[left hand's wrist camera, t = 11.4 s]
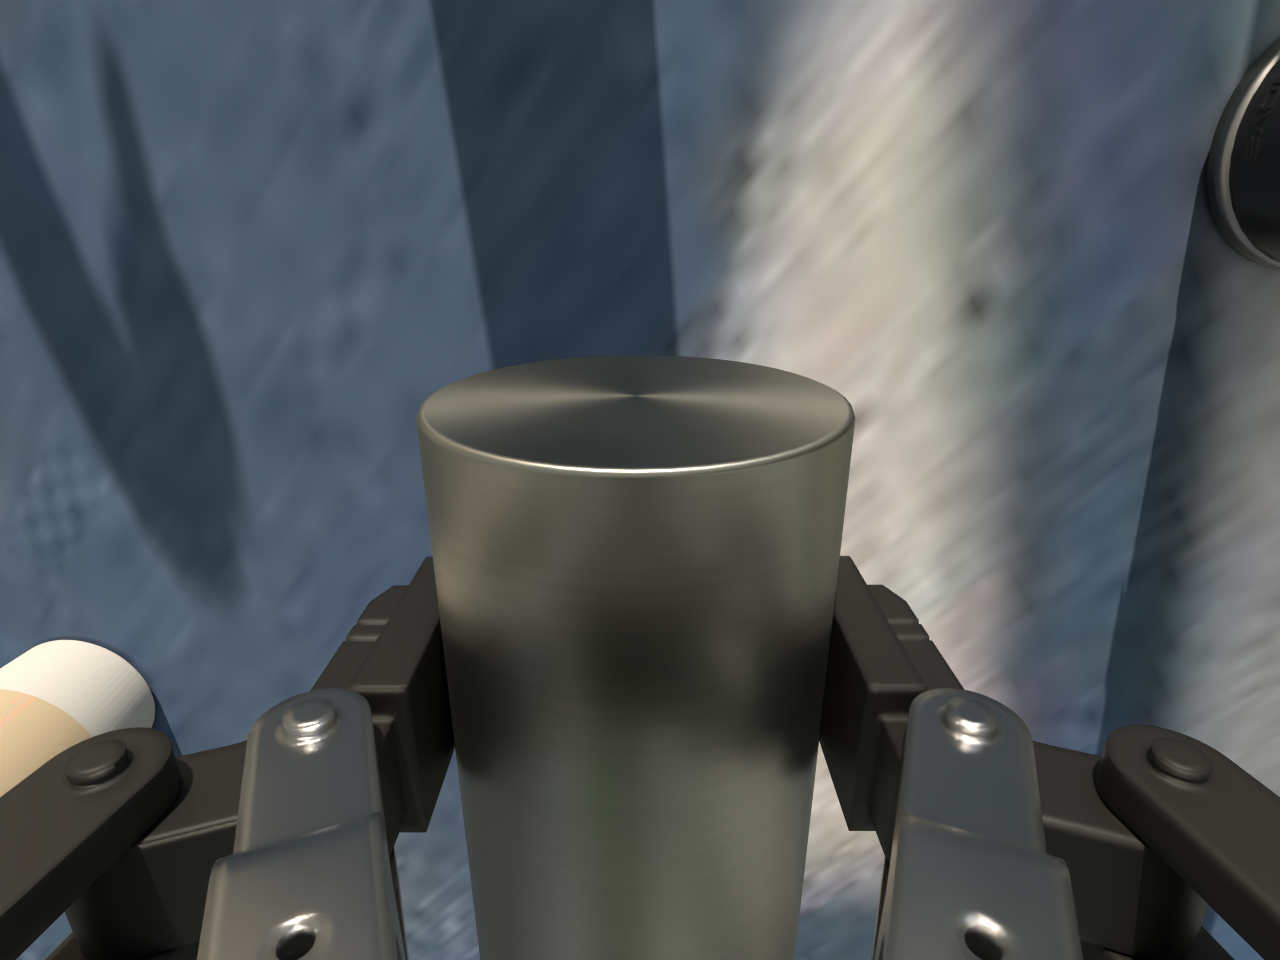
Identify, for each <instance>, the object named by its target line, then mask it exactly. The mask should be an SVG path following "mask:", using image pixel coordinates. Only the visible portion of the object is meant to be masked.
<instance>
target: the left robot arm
mask: <svg viewBox="0 0 1280 960" xmlns="http://www.w3.org/2000/svg"><path fill="white" fill-rule="evenodd" d="M1207 191H1208V198H1209V204H1210V208H1211V211H1212V215H1213V217H1214V220H1215V222H1216V225H1217V226H1218V228H1219V230H1220V232H1221V234H1222V235H1223V236H1224V238H1225V239H1226V241H1227V242H1228V243H1229V244H1230V245H1231V246H1232V247H1233V248H1234V249H1235V250H1236V251H1238V252H1239V253H1240V254H1241V255H1243V256H1244V257H1246V258H1248V259H1249V260H1251V261H1254V262H1256V263H1258V264H1261V265H1264V266H1267V267H1272V268H1277V269H1280V38H1279V39H1278V40H1277V41H1276V42H1275V43H1274V44H1272V45H1271V46H1270V47H1269V48H1268V49H1267V50H1266V51H1265V52H1264V53H1263V54H1262V55H1261V56H1260V57H1259V59H1258V60H1257V61H1256V62H1255V63H1254V64H1253V65H1252V67H1251V68H1250V69H1249V70H1248V72H1247V73H1246V74H1245V76H1244V77H1243V78H1242V80H1241V81H1240V83H1239V84H1238V86H1237V87H1236V89H1235V91H1234V92H1233V94H1232V96H1231V97H1230V99H1229V101H1228V103H1227V105H1226V107H1225V109H1224V111H1223V113H1222V115H1221V118H1220V120H1219V123H1218V125H1217V128H1216V131H1215V134H1214V137H1213V140H1212V145H1211V149H1210V153H1209V160H1208V168H1207ZM819 741H820V744H821V747H822V751H823V754H824V757H825V760H826V763H827V766H828V769H829V772H830V775H831V778H832V781H833V784H834V787H835V790H836V793H837V796H838V799H839V802H840V805H841V808H842V811H843V814H844V817H845V820H846V823H847V826H848V829H849V831H876V833H877V836H878V838H879V841H880V844H881V846H882V849H883V852H884V854H885V857H884V863H883V869H882V877H881V885H880V893H879V901H878V909H877V917H876V926H875V934H874V942H873V950H872V958H871V960H1234V959H1233V958H1232V957H1231V956H1230V955H1229V954H1228V953H1227V951H1226V950H1225V949H1224V948H1223V947H1222V946H1221V945H1220V944H1219V943H1218V942H1217V941H1216V940H1215V939H1214V938H1213V937H1212V936H1211V935H1210V934H1209V933H1208V932H1207V931H1206V930H1205V929H1204V928H1203V927H1202V926H1201V925H1202V923H1203V920H1204V918H1205V916H1206V913H1207V911H1208V908H1209V906H1210V907H1211V908H1212V909H1213V910H1214V911H1216V912H1217V913H1218V914H1219V915H1220V916H1221V917H1222V918H1223V919H1224V920H1225V921H1226V922H1227V923H1228V924H1229V925H1230V926H1231V927H1232V928H1233V929H1234V930H1235V931H1236V932H1237V933H1238V934H1239V935H1240V936H1241V937H1242V938H1243V939H1244V940H1245V941H1246V942H1247V943H1248V944H1249V945H1250V946H1251V947H1252V948H1253V949H1254V950H1255V951H1256V952H1257V953H1258V954H1259V955H1260V956H1261V957H1262V958H1263V959H1264V960H1280V797H1279V796H1277V795H1276V794H1275V793H1273V792H1272V791H1271V790H1269V789H1268V788H1267V787H1265V786H1264V785H1263V784H1261V783H1260V782H1259V781H1258V780H1256V779H1255V778H1254V777H1252V776H1251V775H1250V774H1248V773H1247V772H1246V771H1244V770H1243V769H1242V768H1240V767H1239V766H1238V765H1236V764H1235V763H1234V762H1232V761H1231V760H1230V759H1229V758H1227V757H1226V756H1224V755H1223V754H1221V753H1220V752H1218V751H1217V750H1215V749H1213V748H1212V747H1210V746H1208V745H1206V744H1204V743H1202V742H1200V741H1198V740H1196V739H1194V738H1191V737H1189V736H1186V735H1184V734H1181V733H1178V732H1175V731H1172V730H1168V729H1164V728H1159V727H1153V726H1145V725H1132V726H1125V727H1121V728H1118V729H1116V730H1114V731H1113V732H1112V733H1111V734H1109V736H1108V738H1107V740H1106V744H1105V747H1104V750H1103V754H1102V756H1097V755H1093V754H1088V753H1083V752H1079V751H1074V750H1069V749H1065V748H1060V747H1056V746H1051V745H1047V744H1043V743H1039V742H1035V741H1033V739H1032V736H1031V732H1030V730H1029V729H1028V727H1027V725H1026V724H1025V723H1024V721H1023V720H1022V719H1021V718H1020V717H1019V716H1018V715H1017V714H1016V713H1015V712H1013V711H1012V710H1011V709H1009V708H1008V707H1006V706H1005V705H1003V704H1001V703H1000V702H998V701H996V700H994V699H992V698H989V697H987V696H984V695H982V694H979V693H975V692H972V691H967V690H964V688H963V687H962V685H961V684H960V682H959V681H958V679H957V678H956V676H955V675H954V673H953V672H952V670H951V669H950V667H949V666H948V664H947V663H946V661H945V660H944V658H943V657H942V655H941V654H940V652H939V650H938V649H937V647H936V646H935V644H934V643H933V641H930V640H929V635H928V634H927V632H926V631H925V629H924V628H923V626H922V625H921V624H919V620H918V619H917V617H916V616H915V614H914V613H913V611H912V610H911V608H910V607H909V605H908V604H907V602H906V601H905V600H903V599H902V598H901V597H899V596H898V595H896V594H895V593H893V592H892V591H891V590H889V589H888V588H886V587H885V586H883V585H867V584H866V582H865V581H864V579H863V577H862V576H861V574H860V572H859V571H858V569H857V567H856V565H855V564H854V562H853V560H852V559H851V557H849V556H840V559H839V568H838V576H837V585H836V594H835V603H834V612H833V621H832V630H831V639H830V647H829V656H828V665H827V674H826V683H825V692H824V701H823V710H822V719H821V727H820V736H819ZM454 748H455V742H454V733H453V725H452V716H451V708H450V699H449V691H448V683H447V674H446V666H445V657H444V649H443V640H442V632H441V623H440V615H439V607H438V598H437V590H436V581H435V573H434V564H433V557H426V558H425V560H424V561H423V563H422V564H421V566H420V568H419V569H418V571H417V573H416V575H415V576H414V578H413V580H412V581H411V583H410V585H409V586H392V587H391V588H389V589H388V590H386V591H385V592H384V593H382V594H381V595H379V596H378V597H376V598H375V599H374V600H372V601H371V602H370V603H369V604H368V606H367V607H366V609H365V610H364V612H363V613H362V615H361V616H360V618H359V619H358V621H357V625H354V626H353V628H352V629H351V631H350V632H349V634H348V635H347V637H346V642H343V643H342V644H341V646H340V647H339V649H338V650H337V652H336V653H335V655H334V656H333V658H332V659H331V661H330V662H329V664H328V665H327V667H326V668H325V670H324V671H323V673H322V674H321V676H320V677H319V679H318V680H317V682H316V683H315V685H314V686H313V688H312V689H311V691H308V692H305V693H301V694H298V695H296V696H293V697H291V698H288V699H286V700H284V701H282V702H280V703H279V704H277V705H275V706H274V707H272V708H271V709H269V710H268V711H267V712H265V713H264V714H263V715H262V716H261V717H260V718H259V719H258V720H257V721H256V723H255V724H254V725H253V727H252V729H251V730H250V732H249V736H248V739H247V740H246V741H243V742H240V743H237V744H233V745H229V746H225V747H220V748H216V749H211V750H207V751H202V752H197V753H193V754H188V755H184V756H179V757H175V754H174V751H173V748H172V744H171V741H170V739H169V737H168V736H167V735H166V734H164V733H163V732H161V731H159V730H156V729H152V728H144V727H135V728H125V729H118V730H114V731H110V732H106V733H103V734H100V735H97V736H94V737H91V738H89V739H86V740H84V741H82V742H79V743H77V744H75V745H73V746H71V747H69V748H68V749H66V750H64V751H62V752H61V753H59V754H58V755H56V756H55V757H53V758H52V759H50V760H49V761H47V762H46V763H45V764H44V765H42V766H41V767H40V768H38V769H37V770H36V771H34V772H33V773H32V774H30V775H29V776H28V777H26V778H25V779H24V780H22V781H21V782H20V783H18V784H17V785H16V786H15V787H13V788H12V789H11V790H9V791H8V792H7V793H5V794H4V795H3V796H1V797H0V960H16V959H17V958H18V957H19V956H20V955H21V954H22V953H23V952H24V951H25V950H26V949H27V948H28V947H29V946H30V945H31V944H32V943H33V942H34V941H35V940H36V939H37V938H38V937H39V936H40V935H41V934H42V933H43V932H44V931H45V930H46V929H47V928H48V927H49V926H50V925H51V924H52V923H53V922H54V921H55V920H56V919H57V918H58V917H59V916H60V915H61V914H62V913H63V912H64V911H65V914H66V916H67V918H68V921H69V923H70V926H71V928H72V931H73V932H72V933H71V934H70V935H69V936H68V937H67V938H66V939H65V940H64V941H63V942H62V943H61V944H60V945H59V946H58V947H57V948H56V949H55V950H54V951H53V953H52V954H51V955H50V956H49V957H48V958H47V959H46V960H409V958H408V950H407V942H406V934H405V926H404V917H403V909H402V901H401V893H400V885H399V877H398V869H397V863H396V857H395V851H394V845H395V842H396V839H397V837H398V834H399V832H426V831H427V828H428V825H429V822H430V819H431V816H432V813H433V811H434V808H435V805H436V802H437V799H438V796H439V793H440V790H441V787H442V784H443V781H444V778H445V775H446V772H447V769H448V766H449V763H450V760H451V757H452V754H453V751H454Z"/></svg>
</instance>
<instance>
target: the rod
mask: <svg viewBox="0 0 1280 960" xmlns="http://www.w3.org/2000/svg"><path fill="white" fill-rule="evenodd" d="M416 421H417V429H418V438H419V446H420V455H421V463H422V472H423V480H424V489H425V497H426V505H427V514H428V522H429V531H430V539H431V548H432V556H433V564H434V573H435V581H436V590H437V598H438V607H439V615H440V623H441V632H442V640H443V649H444V657H445V666H446V674H447V683H448V691H449V699H450V708H451V716H452V725H453V733H454V742H455V750H456V758H457V767H458V775H459V784H460V792H461V801H462V809H463V818H464V826H465V834H466V843H467V851H468V860H469V868H470V877H471V885H472V893H473V902H474V910H475V919H476V927H477V936H478V944H479V952H480V960H794V958H795V950H796V941H797V932H798V923H799V914H800V905H801V896H802V887H803V879H804V870H805V861H806V852H807V843H808V834H809V825H810V816H811V807H812V799H813V790H814V781H815V772H816V763H817V754H818V745H819V736H820V727H821V719H822V710H823V701H824V692H825V683H826V674H827V665H828V656H829V647H830V639H831V630H832V621H833V612H834V603H835V594H836V585H837V576H838V568H839V559H840V550H841V541H842V532H843V523H844V514H845V505H846V496H847V488H848V479H849V470H850V461H851V452H852V443H853V434H854V425H855V416H854V412H853V409H852V406H851V404H850V403H849V402H848V400H847V399H846V398H845V397H844V396H842V395H841V394H840V393H839V392H837V391H836V390H834V389H832V388H830V387H828V386H826V385H824V384H822V383H819V382H817V381H814V380H812V379H809V378H807V377H804V376H801V375H797V374H794V373H791V372H787V371H783V370H779V369H775V368H770V367H765V366H760V365H755V364H749V363H742V362H735V361H728V360H720V359H709V358H698V357H683V356H660V355H614V356H591V357H577V358H565V359H555V360H547V361H539V362H532V363H526V364H520V365H514V366H509V367H504V368H499V369H495V370H491V371H487V372H483V373H479V374H476V375H473V376H470V377H467V378H464V379H461V380H459V381H456V382H454V383H452V384H449V385H447V386H445V387H443V388H441V389H439V390H437V391H436V392H434V393H433V394H431V395H430V396H429V397H427V398H426V399H425V401H424V402H423V403H422V404H421V406H420V409H419V412H418V415H417V418H416Z"/></svg>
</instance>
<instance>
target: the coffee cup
mask: <svg viewBox="0 0 1280 960" xmlns="http://www.w3.org/2000/svg"><path fill="white" fill-rule="evenodd" d="M154 718H155V704H154V700H153V696H152V693H151V691H150V689H149V687H148V685H147V683H146V682H145V680H144V679H143V677H142V676H141V675H140V674H139V672H138V671H137V670H136V669H135V668H134V667H133V666H131V665H130V664H129V663H128V662H127V661H125V660H124V659H123V658H121V657H120V656H118V655H117V654H115V653H113V652H111V651H109V650H107V649H105V648H102V647H100V646H97V645H94V644H91V643H87V642H82V641H75V640H57V641H50V642H46V643H43V644H40V645H38V646H36V647H34V648H32V649H30V650H29V651H27V652H26V653H24V654H22V655H21V656H19V657H18V658H16V659H15V660H13V661H12V662H10V663H8V664H7V665H5V666H4V667H2V668H1V669H0V797H1V796H3V795H4V794H5V793H7V792H8V791H9V790H11V789H12V788H13V787H15V786H16V785H17V784H18V783H20V782H21V781H22V780H24V779H25V778H26V777H28V776H29V775H30V774H32V773H33V772H34V771H36V770H37V769H38V768H40V767H41V766H42V765H44V764H45V763H46V762H47V761H49V760H50V759H52V758H53V757H55V756H56V755H58V754H59V753H61V752H62V751H64V750H66V749H68V748H69V747H71V746H73V745H75V744H77V743H79V742H82V741H84V740H86V739H89V738H91V737H94V736H97V735H100V734H103V733H106V732H110V731H114V730H118V729H125V728H135V727H144V728H152V725H153V722H154Z"/></svg>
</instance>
